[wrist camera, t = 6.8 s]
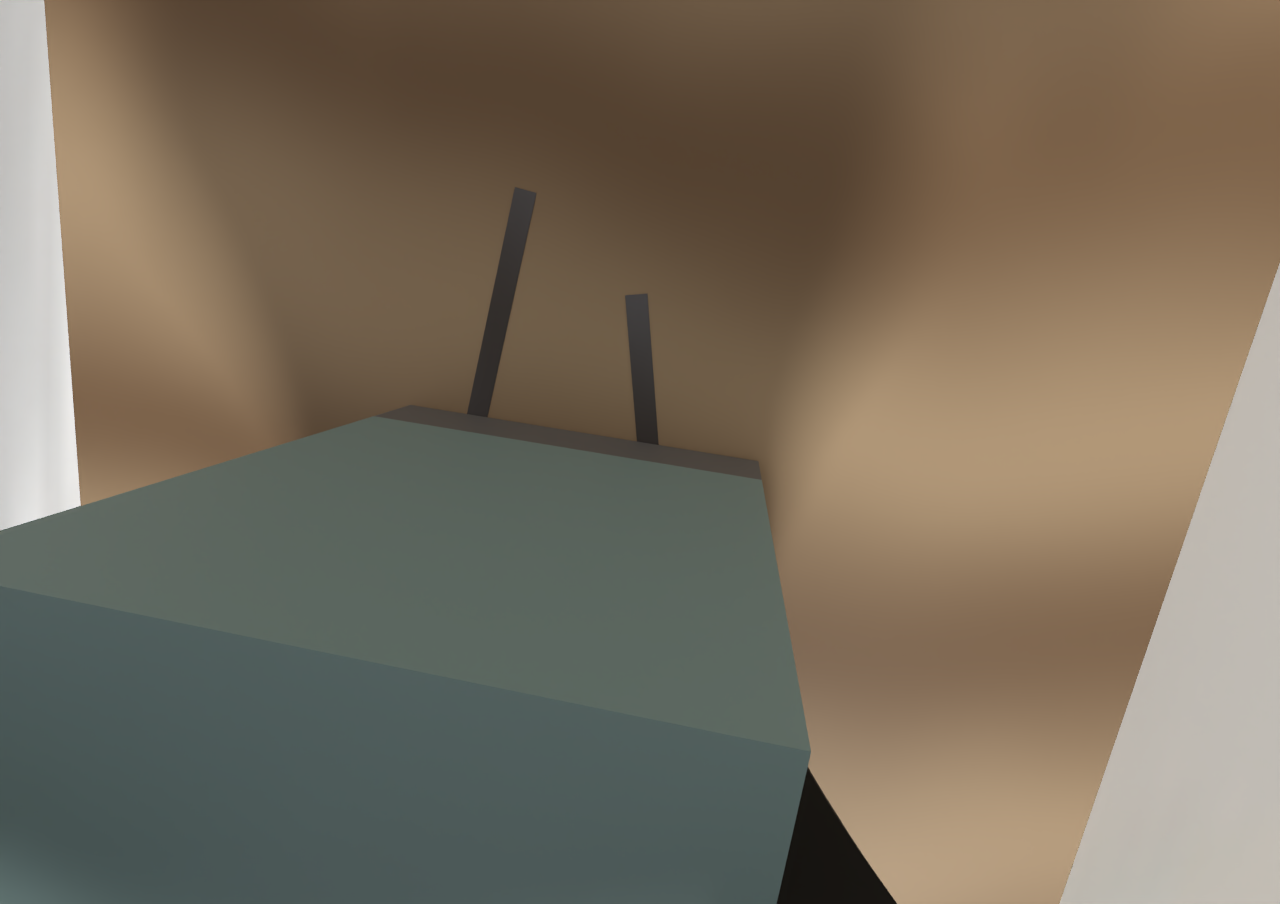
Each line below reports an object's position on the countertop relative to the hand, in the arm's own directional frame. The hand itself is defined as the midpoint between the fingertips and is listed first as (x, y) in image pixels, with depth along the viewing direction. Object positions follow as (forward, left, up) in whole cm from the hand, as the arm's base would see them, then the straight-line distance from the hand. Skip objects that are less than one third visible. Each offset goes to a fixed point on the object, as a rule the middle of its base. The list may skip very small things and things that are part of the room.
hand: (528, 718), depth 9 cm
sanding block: (0, 0, -1) cm, 1 cm away
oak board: (-2, +1, -3) cm, 3 cm away
